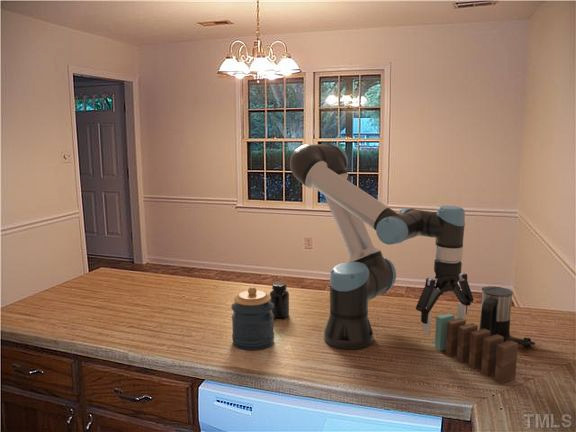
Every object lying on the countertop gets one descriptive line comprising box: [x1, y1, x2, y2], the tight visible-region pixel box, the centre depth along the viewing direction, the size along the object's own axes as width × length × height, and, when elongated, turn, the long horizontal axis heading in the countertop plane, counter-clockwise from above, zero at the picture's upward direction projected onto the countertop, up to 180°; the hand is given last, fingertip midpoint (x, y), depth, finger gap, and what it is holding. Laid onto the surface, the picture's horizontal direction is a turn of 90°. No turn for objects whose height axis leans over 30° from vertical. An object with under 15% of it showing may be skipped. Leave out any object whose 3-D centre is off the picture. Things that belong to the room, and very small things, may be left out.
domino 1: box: [434, 313, 455, 352], centre depth 142 cm, size 2×5×10 cm, turn 116°
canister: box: [230, 286, 275, 351], centre depth 146 cm, size 13×13×18 cm
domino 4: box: [468, 329, 490, 370], centre depth 130 cm, size 2×5×10 cm, turn 116°
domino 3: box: [456, 322, 479, 364], centre depth 134 cm, size 2×5×10 cm, turn 116°
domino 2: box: [445, 318, 467, 357], centre depth 138 cm, size 2×5×10 cm, turn 117°
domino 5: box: [481, 334, 504, 378], centre depth 126 cm, size 2×5×10 cm, turn 116°
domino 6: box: [494, 340, 519, 385], centre depth 123 cm, size 2×5×10 cm, turn 116°
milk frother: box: [479, 285, 536, 348], centre depth 146 cm, size 14×16×15 cm
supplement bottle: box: [269, 281, 290, 320], centre depth 167 cm, size 7×7×12 cm
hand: (443, 329), depth 142 cm, fingers open, 13 cm apart
